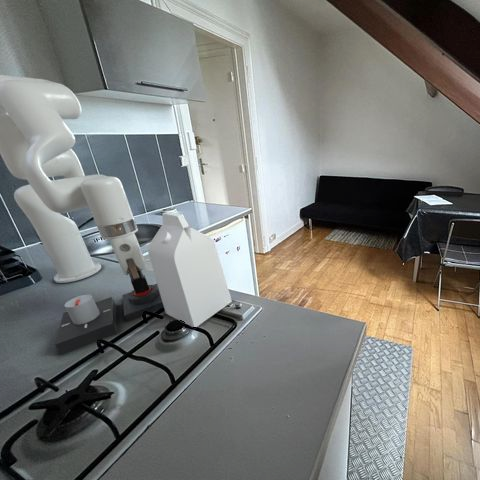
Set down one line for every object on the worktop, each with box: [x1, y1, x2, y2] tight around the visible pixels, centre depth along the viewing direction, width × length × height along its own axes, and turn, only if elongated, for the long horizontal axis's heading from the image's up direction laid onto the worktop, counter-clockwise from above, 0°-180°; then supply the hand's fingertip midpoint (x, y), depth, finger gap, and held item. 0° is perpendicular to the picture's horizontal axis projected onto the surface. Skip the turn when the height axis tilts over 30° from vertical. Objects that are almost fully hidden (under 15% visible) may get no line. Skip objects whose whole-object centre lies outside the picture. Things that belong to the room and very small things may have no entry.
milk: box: [147, 211, 233, 328], centre depth 64 cm, size 12×12×26 cm
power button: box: [134, 287, 152, 297], centre depth 72 cm, size 4×4×2 cm
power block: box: [121, 283, 164, 322], centre depth 72 cm, size 12×10×4 cm
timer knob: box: [64, 294, 100, 325], centre depth 62 cm, size 5×5×5 cm
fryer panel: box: [54, 296, 118, 356], centre depth 64 cm, size 14×10×3 cm
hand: (142, 290), depth 71 cm, fingers closed
